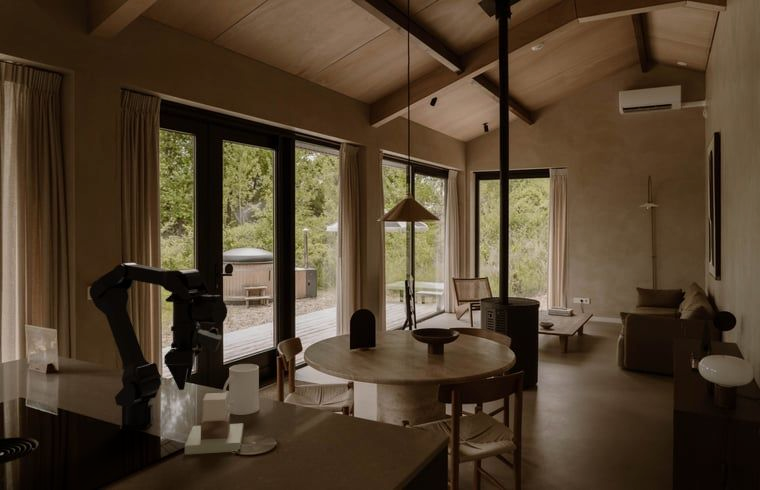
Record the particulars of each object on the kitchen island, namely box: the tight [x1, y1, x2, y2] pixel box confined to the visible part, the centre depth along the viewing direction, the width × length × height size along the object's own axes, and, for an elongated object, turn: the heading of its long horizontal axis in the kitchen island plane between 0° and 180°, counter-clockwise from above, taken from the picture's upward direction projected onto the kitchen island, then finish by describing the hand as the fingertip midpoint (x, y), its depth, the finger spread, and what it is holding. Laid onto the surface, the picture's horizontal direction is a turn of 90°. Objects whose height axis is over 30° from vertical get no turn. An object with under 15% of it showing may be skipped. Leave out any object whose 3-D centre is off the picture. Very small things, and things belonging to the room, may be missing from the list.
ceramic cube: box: [202, 392, 228, 422], centre depth 125 cm, size 5×5×5 cm
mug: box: [222, 363, 260, 416], centre depth 147 cm, size 12×8×12 cm
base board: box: [184, 422, 244, 455], centre depth 125 cm, size 12×12×2 cm
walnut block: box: [200, 411, 231, 440], centre depth 125 cm, size 6×6×4 cm
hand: (184, 384), depth 129 cm, fingers open, 9 cm apart
